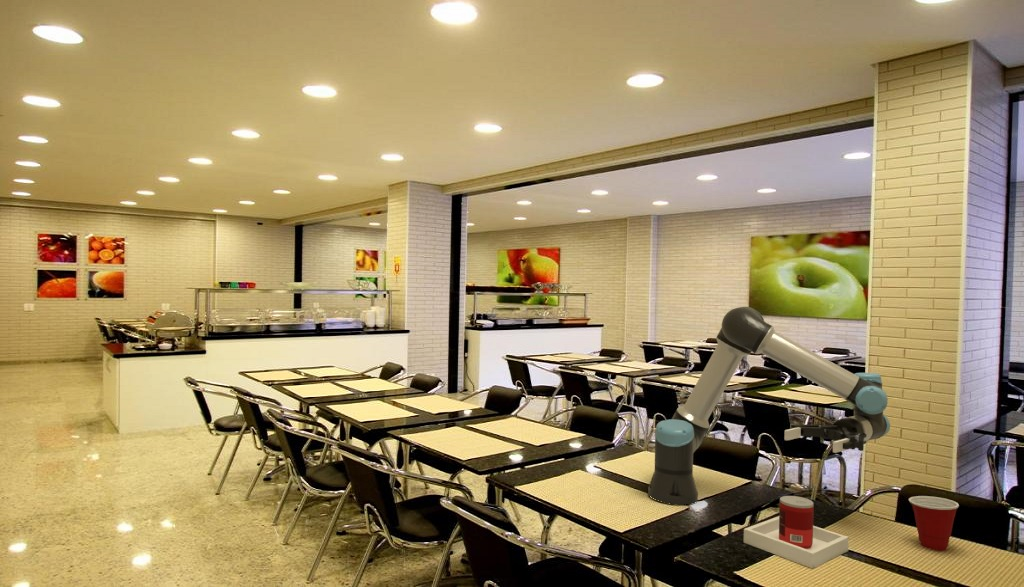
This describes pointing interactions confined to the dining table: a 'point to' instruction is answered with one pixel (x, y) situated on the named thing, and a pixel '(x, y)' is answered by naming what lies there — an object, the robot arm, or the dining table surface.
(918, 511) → the plastic cup
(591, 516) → the dining table surface
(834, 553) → the tray
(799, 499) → the canned food
